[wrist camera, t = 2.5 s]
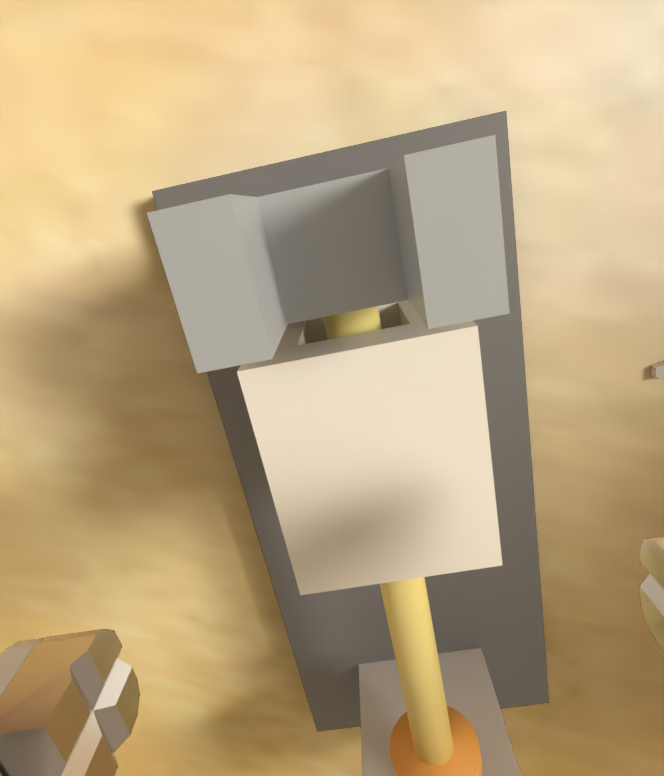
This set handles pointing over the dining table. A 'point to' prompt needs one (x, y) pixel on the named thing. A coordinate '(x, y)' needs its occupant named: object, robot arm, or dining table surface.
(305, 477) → the sleeve
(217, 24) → the dining table surface
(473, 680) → the cord rig
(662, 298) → the dining table surface
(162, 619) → the dining table surface
